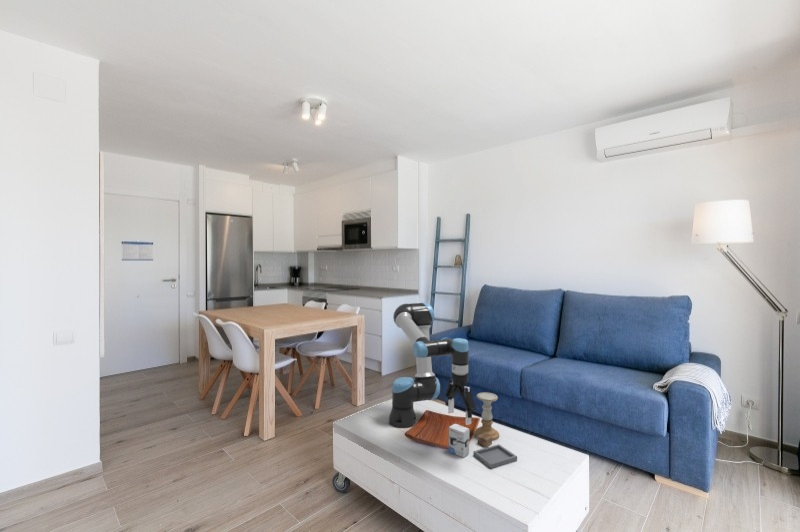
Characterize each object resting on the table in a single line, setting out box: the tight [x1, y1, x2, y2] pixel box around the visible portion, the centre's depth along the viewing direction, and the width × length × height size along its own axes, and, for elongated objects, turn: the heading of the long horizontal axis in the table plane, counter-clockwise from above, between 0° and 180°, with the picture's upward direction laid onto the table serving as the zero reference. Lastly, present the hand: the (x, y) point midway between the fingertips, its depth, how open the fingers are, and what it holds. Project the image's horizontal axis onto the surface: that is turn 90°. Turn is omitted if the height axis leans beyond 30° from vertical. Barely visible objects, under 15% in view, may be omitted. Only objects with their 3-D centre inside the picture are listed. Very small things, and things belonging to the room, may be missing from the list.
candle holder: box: [474, 392, 500, 441], centre depth 190 cm, size 12×12×20 cm
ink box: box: [448, 423, 470, 458], centre depth 172 cm, size 8×5×12 cm, turn 47°
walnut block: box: [477, 433, 493, 448], centre depth 180 cm, size 5×5×4 cm
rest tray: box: [472, 443, 518, 470], centre depth 168 cm, size 12×15×2 cm
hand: (459, 418), depth 172 cm, fingers open, 13 cm apart
